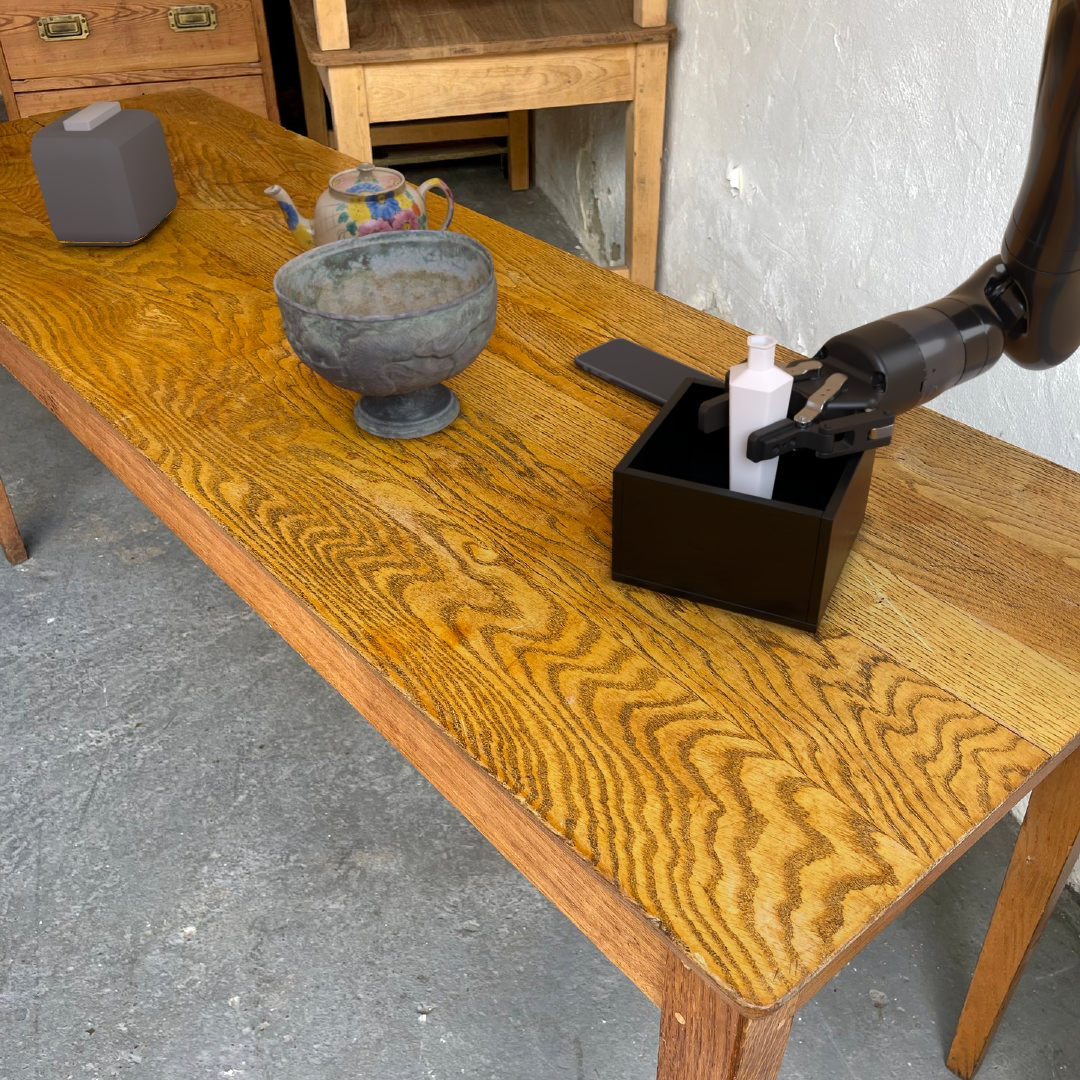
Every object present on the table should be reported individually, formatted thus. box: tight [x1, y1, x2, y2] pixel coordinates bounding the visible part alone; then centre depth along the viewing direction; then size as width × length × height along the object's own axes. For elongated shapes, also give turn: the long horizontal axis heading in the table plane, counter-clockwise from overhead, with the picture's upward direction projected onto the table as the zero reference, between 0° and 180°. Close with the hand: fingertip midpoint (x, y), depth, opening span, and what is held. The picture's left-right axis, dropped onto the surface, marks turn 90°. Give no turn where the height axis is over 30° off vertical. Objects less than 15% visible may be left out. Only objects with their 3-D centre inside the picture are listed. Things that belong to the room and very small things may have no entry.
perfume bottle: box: [729, 333, 793, 499], centre depth 80 cm, size 5×4×15 cm
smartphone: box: [573, 337, 725, 407], centre depth 110 cm, size 7×1×15 cm
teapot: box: [263, 161, 455, 252], centre depth 131 cm, size 20×14×13 cm
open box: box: [610, 377, 877, 635], centre depth 83 cm, size 16×16×10 cm
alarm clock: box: [30, 101, 178, 247], centre depth 145 cm, size 16×11×16 cm
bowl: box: [272, 229, 498, 440], centre depth 101 cm, size 20×19×15 cm
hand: (726, 434), depth 79 cm, fingers closed on perfume bottle, 4 cm apart
